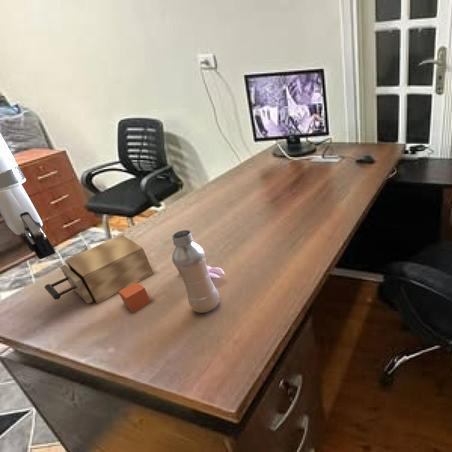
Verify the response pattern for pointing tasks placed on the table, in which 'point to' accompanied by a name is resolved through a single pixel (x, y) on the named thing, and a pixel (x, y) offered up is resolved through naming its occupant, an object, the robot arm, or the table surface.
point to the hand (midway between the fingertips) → (43, 251)
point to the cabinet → (110, 267)
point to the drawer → (74, 282)
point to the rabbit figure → (214, 272)
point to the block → (134, 296)
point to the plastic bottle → (194, 272)
